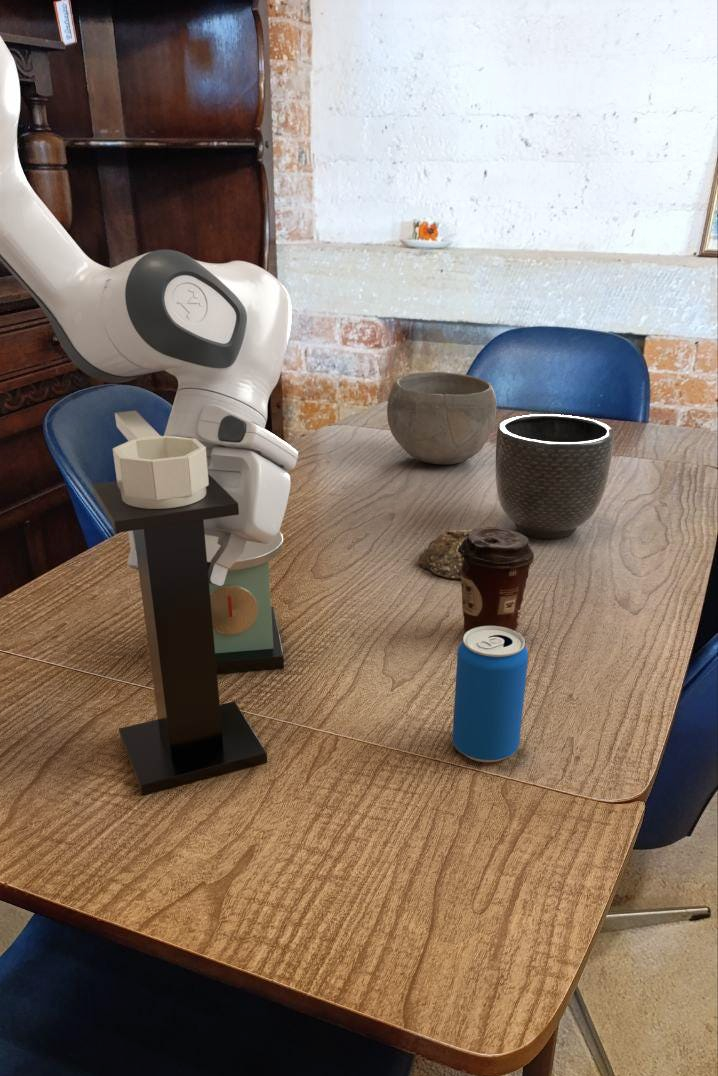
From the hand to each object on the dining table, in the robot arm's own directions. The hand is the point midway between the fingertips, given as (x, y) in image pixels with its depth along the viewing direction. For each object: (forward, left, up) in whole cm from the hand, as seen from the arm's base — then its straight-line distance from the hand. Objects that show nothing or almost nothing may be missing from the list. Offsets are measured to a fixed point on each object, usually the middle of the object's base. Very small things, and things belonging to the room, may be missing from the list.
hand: (172, 576), depth 82 cm
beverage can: (+29, +10, -16) cm, 34 cm away
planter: (+16, +70, -16) cm, 74 cm away
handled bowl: (0, -1, +10) cm, 10 cm away
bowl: (-14, +97, -16) cm, 99 cm away
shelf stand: (+4, -4, -16) cm, 17 cm away
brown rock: (+10, +51, -16) cm, 54 cm away
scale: (-5, +15, -16) cm, 23 cm away
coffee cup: (+21, +32, -16) cm, 41 cm away
